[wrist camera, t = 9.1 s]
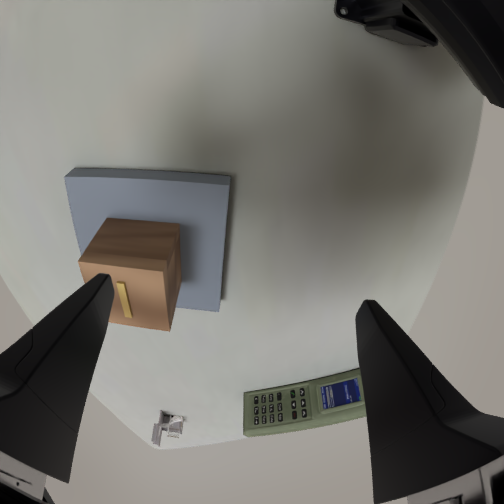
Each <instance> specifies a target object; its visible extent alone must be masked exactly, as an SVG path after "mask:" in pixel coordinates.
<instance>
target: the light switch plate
mask: <svg viewBox="0 0 504 504" xmlns="http://www.w3.org/2000/svg"><path fill="white" fill-rule="evenodd" d="M64 178H65V184H66V190H67V195H68V200H69V206H70V210H71V215H72V220H73V224H74V228H75V233H76V237H77V241H78V245H79V249H80V252H81V256H82V254H83V253H84V251H85V249H86V248H87V246H88V245H89V243H90V242H91V240H92V239H93V237H94V236H95V234H96V233H97V231H98V230H99V228H100V227H101V225H102V224H103V222H104V221H105V219H106V218H118V219H131V220H144V221H156V222H167V223H179V224H180V256H181V279H182V283H181V287H180V291H179V295H178V299H177V303H176V307H177V308H186V309H195V310H204V311H214V312H219V308H220V298H221V285H222V271H223V259H224V246H225V234H226V223H227V212H228V201H229V190H230V180H231V176H224V175H213V174H201V173H188V172H173V171H156V170H135V169H99V168H74V169H73V170H71V171H70V172H69V173H68V174H67V175H66V176H65V177H64Z"/></svg>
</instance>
